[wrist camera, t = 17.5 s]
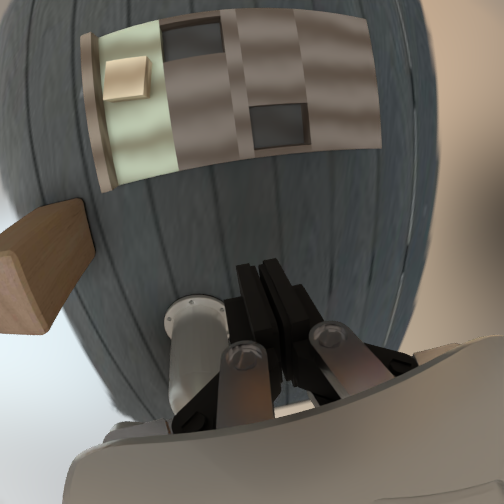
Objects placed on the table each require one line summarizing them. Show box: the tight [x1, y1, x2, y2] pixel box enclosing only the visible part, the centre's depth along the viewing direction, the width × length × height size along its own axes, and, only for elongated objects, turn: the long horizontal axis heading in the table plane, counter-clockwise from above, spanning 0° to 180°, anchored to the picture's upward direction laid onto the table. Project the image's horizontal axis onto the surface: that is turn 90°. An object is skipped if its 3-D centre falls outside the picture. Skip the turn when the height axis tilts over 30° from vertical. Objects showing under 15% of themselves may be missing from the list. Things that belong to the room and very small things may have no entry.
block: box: [0, 198, 95, 335], centre depth 27 cm, size 10×10×20 cm
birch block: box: [103, 56, 152, 103], centre depth 25 cm, size 5×5×4 cm
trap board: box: [80, 8, 382, 193], centre depth 29 cm, size 22×40×6 cm, turn 97°
